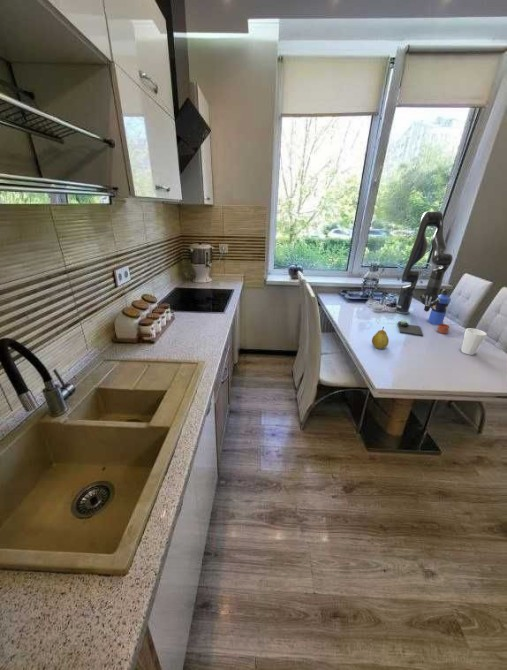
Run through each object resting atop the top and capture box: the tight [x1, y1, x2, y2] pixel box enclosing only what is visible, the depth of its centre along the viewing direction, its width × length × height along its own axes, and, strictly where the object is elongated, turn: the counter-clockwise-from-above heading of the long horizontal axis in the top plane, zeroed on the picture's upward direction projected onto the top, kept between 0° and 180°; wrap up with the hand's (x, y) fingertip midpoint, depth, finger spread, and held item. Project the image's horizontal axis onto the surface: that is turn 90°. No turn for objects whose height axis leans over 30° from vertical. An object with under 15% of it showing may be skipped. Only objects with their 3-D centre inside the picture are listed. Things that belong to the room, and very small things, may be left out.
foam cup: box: [461, 327, 488, 356], centre depth 156 cm, size 10×9×13 cm
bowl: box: [436, 323, 451, 335], centre depth 183 cm, size 6×6×5 cm
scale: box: [397, 320, 423, 337], centre depth 186 cm, size 16×14×2 cm
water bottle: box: [427, 288, 452, 326], centre depth 195 cm, size 9×9×25 cm
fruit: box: [371, 326, 390, 350], centre depth 159 cm, size 9×9×12 cm
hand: (426, 311), depth 183 cm, fingers closed
